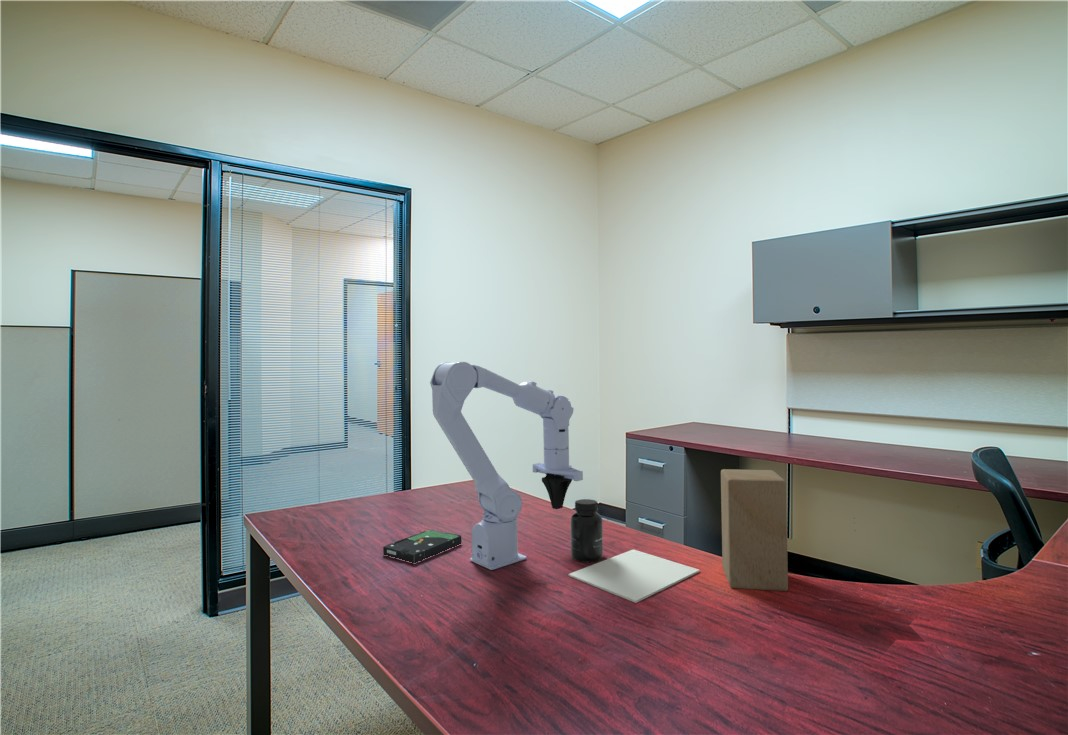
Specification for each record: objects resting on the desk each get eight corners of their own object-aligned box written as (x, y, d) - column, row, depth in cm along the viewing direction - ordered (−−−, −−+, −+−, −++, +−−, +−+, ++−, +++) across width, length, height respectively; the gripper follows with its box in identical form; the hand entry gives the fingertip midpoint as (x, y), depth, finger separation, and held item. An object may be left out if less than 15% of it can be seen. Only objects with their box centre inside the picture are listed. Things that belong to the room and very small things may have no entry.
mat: (635, 602, 94) (635, 600, 94) (568, 576, 106) (568, 573, 106) (699, 571, 107) (699, 569, 107) (633, 551, 119) (633, 549, 119)
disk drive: (415, 568, 114) (462, 546, 126) (415, 554, 114) (462, 534, 126) (382, 558, 120) (430, 539, 132) (382, 546, 120) (430, 527, 132)
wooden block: (788, 592, 97) (786, 480, 97) (729, 588, 99) (727, 479, 99) (775, 571, 106) (773, 469, 106) (722, 568, 108) (720, 468, 108)
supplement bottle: (604, 563, 113) (603, 505, 112) (571, 563, 113) (570, 506, 113) (601, 551, 119) (600, 497, 119) (570, 552, 120) (569, 497, 119)
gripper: (591, 449, 120) (593, 510, 120) (547, 443, 131) (548, 499, 131) (569, 453, 115) (570, 517, 115) (525, 446, 126) (526, 504, 126)
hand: (557, 508), depth 123 cm, fingers closed
